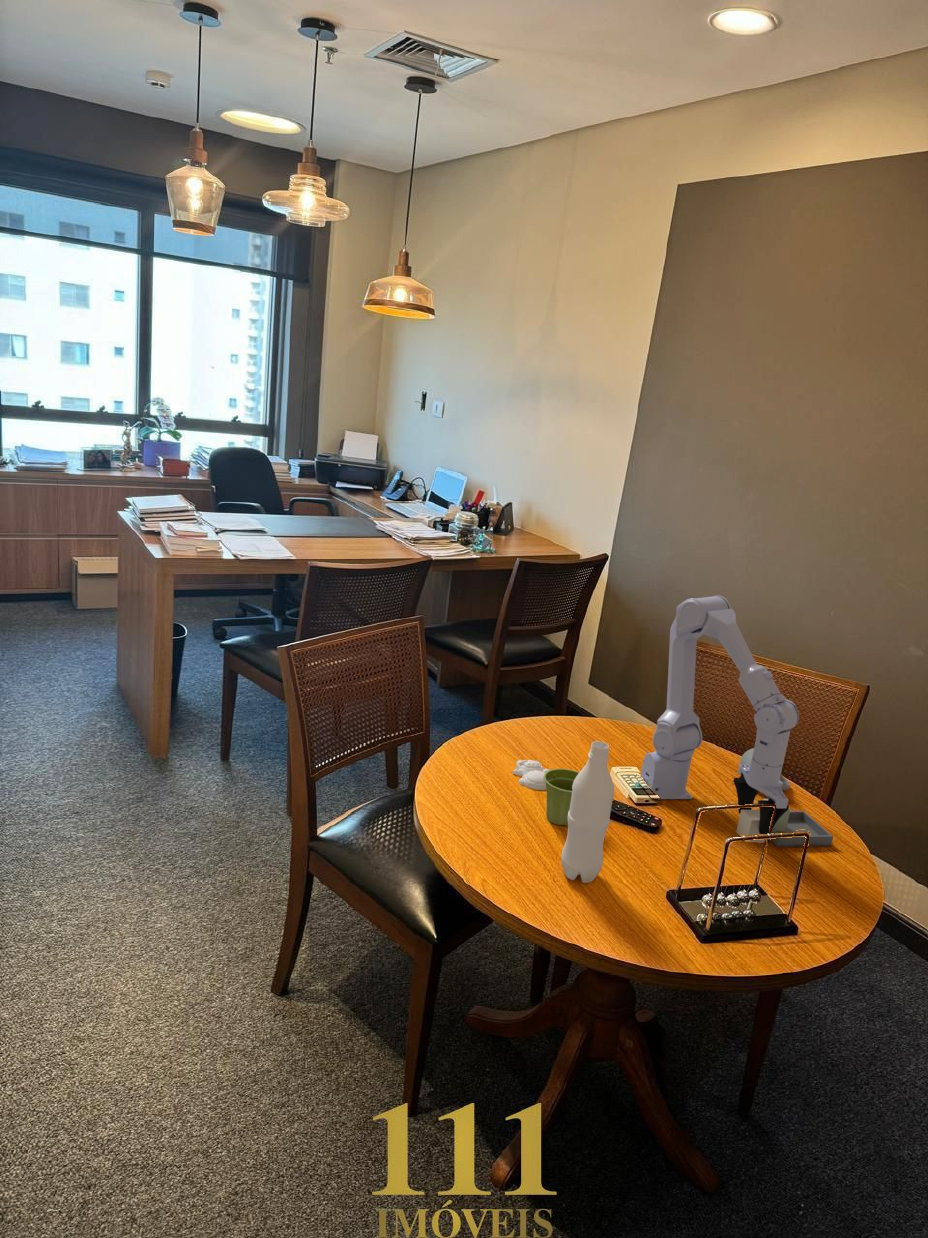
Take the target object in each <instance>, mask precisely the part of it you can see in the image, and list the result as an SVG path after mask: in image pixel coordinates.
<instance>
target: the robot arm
mask: <svg viewBox="0 0 928 1238" xmlns="http://www.w3.org/2000/svg"><path fill="white" fill-rule="evenodd" d="M675 611H676V613H675V618H674V619H673V622H672V624H671V626H670V632H669V651H668V667H667V669H668V673H667V689H666V691H667V692H666V693H667V694H666V709H665V711H664V712H663V713H662V715H660V717H658V719H657V721H656V729H655V731H654V733H653V735H652V744H653V747H654V749H655V751H653V752H647V753H645V756H644V757H643V761H642V767H641V772H640V777H642V778H643V780H644V781H645V782H646V784H647V785H648V786H649V787H650V788H651V790H652V791H653V792H654V793H655V794H656V795H658V796H659V797H660V798H661V799H660V800H692V799H693V795H692V794H691V793H689V791H688V790H687V785H688V784H687V783H688V779H689V774H690V770H691V769H690V768H691V763H692V758H693V755H694V754H695V750H696V749H698V748H699V747H700V746H702V745H701V744H702V742H703V733H702V729H701V726H700V721H701V720H700V717H699V716H698V715H697V714H696V713H695V712H694V702H695V701H694V699H695V684H696V683H695V682H696V681H695V680H696V661H697V643H698V639H699V638H700V637H701V636H703V635H705V636H708V637H711V638H713V639H717V640H718V641H719V643H720V644H721V645H722V647H723V648H724V650H725V651H726V653H727V655H728V656H729V657H730V658H731V660H732V662H733V663H734V665H735V666H736V668H737V670H738V671H739V673H740V674H739V678H738V683H739V685H740V686H741V688H742V690H743V691H744V693H745V695H746V697H747V698H748V700H749V702H750V704H751V705H752V707H753V709H754V710H755V712H756V713H754V715H753V719H754V721H753V722H754V725H755V726H756V734H755V737H756V738H755V742H754V747H753V748H754V751H753V756H752V760H751V765H750V766H749V765H740V764H738V765H739V766H738V770H737V774H738V775H739V777H734V778H733V781H732V782H733V784H734V786H735V791H736V797H737V806H738V805H745V804H753V805H754V804H755V803H754V802H755V798H756V797H757V794H758V792H760V793H761V794H763V795H765V796H766V797H767V799H768V801H767V800H763V799H761V800H760V799H759V800H757V804H758V805H759V804H775V805H776V814H775V817H774V821H773V826H772V829H773V827H774V826H775V824H776V822H777V821H778V819H779V818H780V817H781V816H782V815H783V814H784V813H785V812H786V811H787V810H788V809H789V808H790V806H789V798H788V797H787V796H786V795H785V793H784V792H783V791H784V790H782V789H781V786H783V782H781V781H780V775H781V773H782V770H783V765H784V762H785V757H786V753H787V749H788V743H789V740H790V734H791V729H793V728H795V727H796V726H797V725H798V724H799V720H800V713H799V710H798V708H797V704H795V702H793V701H791V700H790V699H787V698H786V697H785V695H783V694H782V692H781V691H780V689H779V688H778V686H777V684H776V682H775V681H774V679H773V678H774V675H773V674H772V672H771V671H770V670H768V669H767V667H765V666H762V665H760V664H758V663H757V662H756V660H755V658H754V656H753V654H752V652H751V650H750V648H749V646H748V644H747V642H746V640H745V638H744V636H743V634H742V631H741V630H740V627H739V625H738V623H737V615H736V612H735V611H734V609H733V608H732V606H731V604H730V602H729V600H728V599H727V598H726V597H724V596H722V595H712V596H706V597H696V598H693V597H692V598H688V599H685V600H684V601H683V602H681V603H680V604H678V605H677V606H676V610H675ZM758 807H759V806H758ZM741 810H753V807H752V808H740V809H738V814H739V815H740V813H741ZM758 810H760V821H759V833H760V834H767V833H769V826H770V821H771V817H772V814H773V811H774V808H773V807H759V808H758ZM772 829H771V831H772ZM771 831H770V833H771Z"/></svg>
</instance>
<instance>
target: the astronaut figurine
mask: <svg viewBox="0 0 928 1238" xmlns="http://www.w3.org/2000/svg"><path fill="white" fill-rule="evenodd" d="M515 766H516V768H515V769H513V770H512V773H513V775H514V774H515V775H514V776H518V777H521V776H522V777H521V778H519V780H518V784H519V785H520V786H522V787H526V788H528V789H531V790H536V791H547V788H546V782H545V780H544V774H545V773H546V772H547V771H549V770H550V768H544V767H543V766H542V763H541V762H540V761H538V760H534V759H533V760H531V759H524V760H521V759H519V760H517V761H516V765H515Z"/></svg>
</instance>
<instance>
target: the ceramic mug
mask: <svg viewBox="0 0 928 1238" xmlns="http://www.w3.org/2000/svg"><path fill="white" fill-rule="evenodd" d="M753 751H754V747H752V748H750V749H748V750H746V751H745V752H744V753H743V754H742V755H741V758H740V759H739V765H749V766H750V765H751V760H752V756H753ZM780 781H781V782H783V786H781V789H782V791H785V792H786V791H788V789H789V788H790V786H791V784H790V782H789V780H788V779H787V778H785V777H784V776H783V775H782V772H781V775H780Z"/></svg>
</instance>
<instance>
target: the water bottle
mask: <svg viewBox="0 0 928 1238" xmlns="http://www.w3.org/2000/svg"><path fill="white" fill-rule="evenodd" d="M609 750H610V745H609V744H608V743H606V742H604V741H600V740H595V741H592V742H591V745H590V750H589V752H588V754H587V757H588V758H587V759H588V760H587V762H586V764H585V765H584V767H582V769H581V770H580V771H578V772H579V774H578V775H577V776H576V778H575V780H574V782H573V785H572V797H571V803H570V810H569V812H568V826H567V837H566V840H565V844H564V845H563V847H562V849H561V851H562V852H561V856H560V857H561V858H560V859H561V860H560V862H561V866H562V868H563V872H564V874H565V876H566V878H567V879H569V880H571V881H574V880H576V878H577V877H578V876H579V875H580V880H581V881H582V882H581V883H584V884H588V883H591V882H592V881H594V880H595V879H596V877H597V876H599V874H600V873H601V871H602V869H603V863H604V852H603V851H604V840H605V836H606V832H607V830H608V827H609V826H610V821H611V820H610V817H611V813H612V804H613V799H614V796H615V786H614V785H615V784H614V782H613V779H612V776H611V773H610V771H609V767H608V761H610V757H609V756H610V754H609V752H610V751H609Z"/></svg>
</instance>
